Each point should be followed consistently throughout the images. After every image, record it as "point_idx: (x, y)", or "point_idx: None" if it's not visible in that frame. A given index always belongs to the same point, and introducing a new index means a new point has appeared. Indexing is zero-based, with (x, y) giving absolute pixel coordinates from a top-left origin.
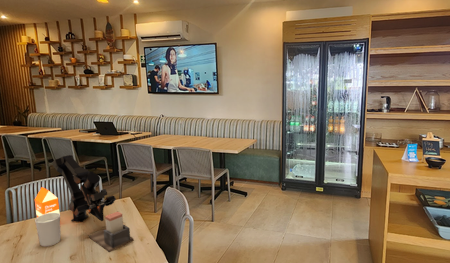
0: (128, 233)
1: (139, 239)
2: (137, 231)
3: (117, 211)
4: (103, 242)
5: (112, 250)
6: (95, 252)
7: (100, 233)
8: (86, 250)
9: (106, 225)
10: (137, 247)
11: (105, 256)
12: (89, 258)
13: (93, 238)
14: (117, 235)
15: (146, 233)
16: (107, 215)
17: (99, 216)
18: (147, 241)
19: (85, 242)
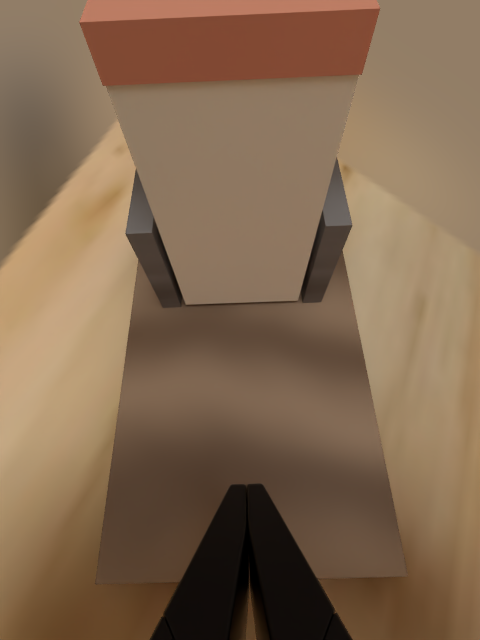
0: None
1: (119, 206)
2: (43, 296)
3: (82, 20)
4: (326, 309)
5: None
6: (404, 268)
7: (283, 493)
8: (458, 337)
9: (326, 174)
10: None
11: (364, 195)
12: (454, 237)
13: (377, 445)
14: None
15: (36, 231)
16: (328, 3)
17: (301, 554)
18: (109, 163)
19: (445, 477)
